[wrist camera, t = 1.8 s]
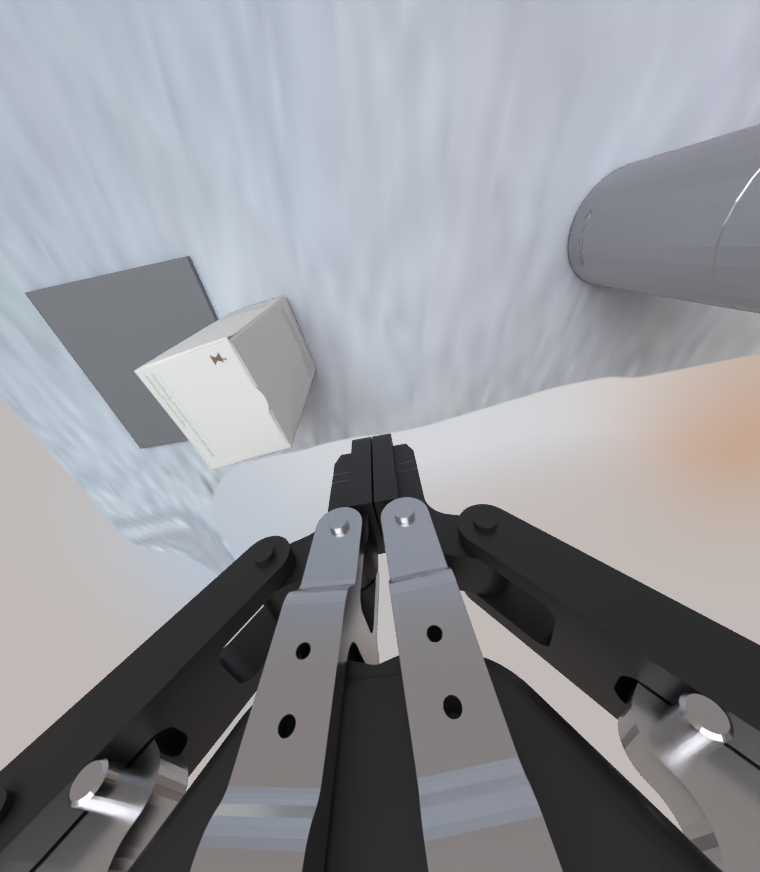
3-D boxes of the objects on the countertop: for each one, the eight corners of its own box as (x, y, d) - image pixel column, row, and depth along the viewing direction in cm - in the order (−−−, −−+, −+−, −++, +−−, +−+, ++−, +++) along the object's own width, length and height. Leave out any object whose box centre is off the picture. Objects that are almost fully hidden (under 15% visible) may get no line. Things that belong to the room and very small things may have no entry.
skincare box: (228, 312, 30) (121, 364, 17) (289, 292, 29) (227, 330, 16) (267, 387, 35) (206, 474, 21) (321, 371, 34) (292, 451, 21)
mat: (189, 256, 28) (186, 256, 27) (264, 423, 37) (263, 426, 37) (30, 291, 29) (24, 292, 28) (143, 445, 38) (140, 448, 38)
